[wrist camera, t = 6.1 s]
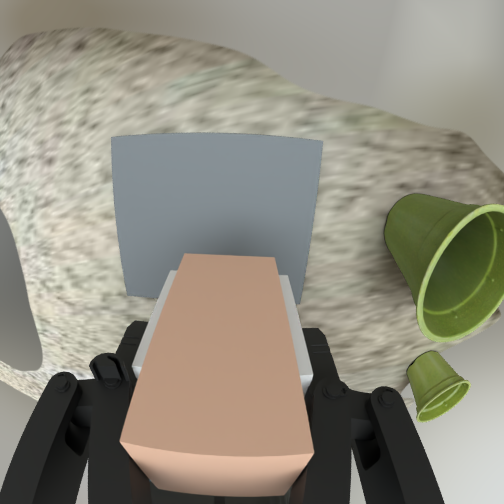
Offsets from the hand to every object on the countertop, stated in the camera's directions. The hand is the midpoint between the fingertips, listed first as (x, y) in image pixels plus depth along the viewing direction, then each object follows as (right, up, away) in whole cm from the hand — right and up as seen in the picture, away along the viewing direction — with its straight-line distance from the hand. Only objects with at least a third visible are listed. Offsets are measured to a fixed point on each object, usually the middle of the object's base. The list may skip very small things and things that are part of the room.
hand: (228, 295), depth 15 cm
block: (0, 0, 0) cm, 0 cm away
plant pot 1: (+18, +5, +11) cm, 21 cm away
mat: (-2, +5, +10) cm, 12 cm away
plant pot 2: (+28, -15, +21) cm, 38 cm away
